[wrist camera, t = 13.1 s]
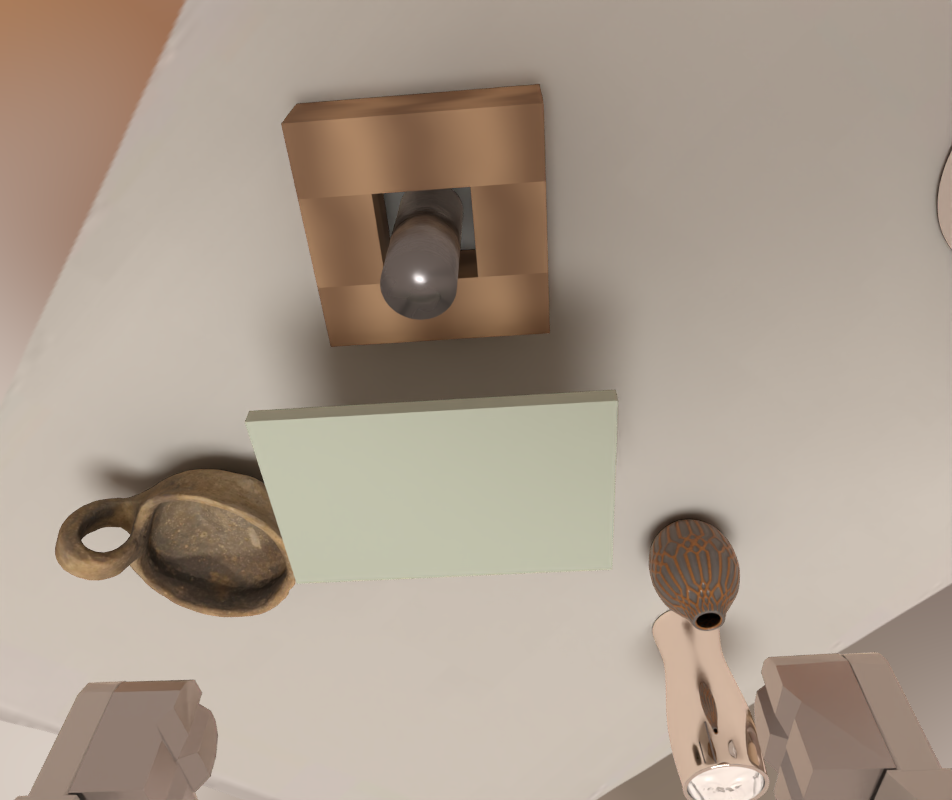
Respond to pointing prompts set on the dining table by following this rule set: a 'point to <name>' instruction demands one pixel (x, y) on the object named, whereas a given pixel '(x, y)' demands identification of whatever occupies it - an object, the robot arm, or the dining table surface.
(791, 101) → the dining table surface
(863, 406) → the dining table surface
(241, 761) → the dining table surface
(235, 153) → the dining table surface
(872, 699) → the robot arm
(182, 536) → the brown rounded scoop
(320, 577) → the pale green platform
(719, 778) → the cream rounded piece
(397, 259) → the peg
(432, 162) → the socket plate
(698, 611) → the vase
